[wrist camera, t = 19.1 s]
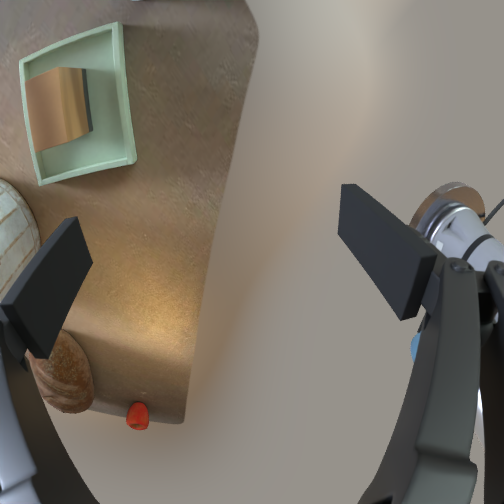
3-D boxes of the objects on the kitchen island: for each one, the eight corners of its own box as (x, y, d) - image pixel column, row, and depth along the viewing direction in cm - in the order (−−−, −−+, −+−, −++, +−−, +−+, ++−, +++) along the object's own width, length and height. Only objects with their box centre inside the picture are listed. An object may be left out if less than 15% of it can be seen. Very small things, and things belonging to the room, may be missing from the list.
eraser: (86, 68, 27) (58, 66, 20) (93, 130, 32) (68, 142, 25) (55, 79, 27) (24, 81, 20) (63, 139, 31) (34, 153, 25)
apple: (124, 399, 65) (121, 422, 59) (144, 398, 65) (142, 422, 59) (133, 409, 68) (131, 432, 62) (153, 409, 69) (152, 432, 62)
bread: (52, 385, 60) (43, 418, 51) (27, 314, 47) (7, 354, 37) (101, 399, 65) (95, 434, 55) (89, 331, 51) (76, 376, 41)
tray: (123, 24, 25) (118, 21, 23) (137, 159, 36) (133, 163, 34) (27, 60, 24) (19, 60, 22) (46, 181, 34) (39, 186, 33)
